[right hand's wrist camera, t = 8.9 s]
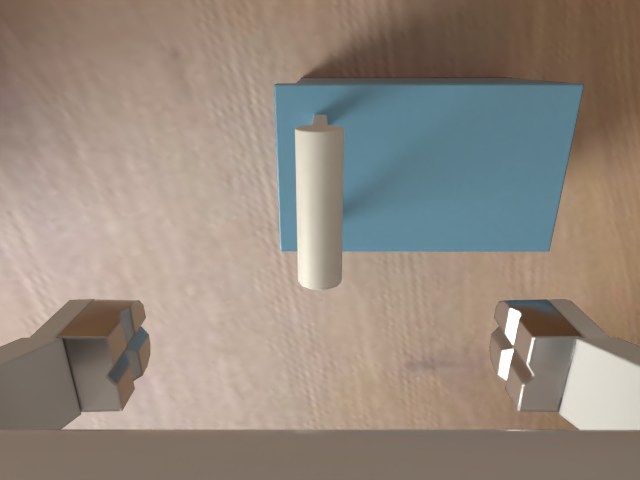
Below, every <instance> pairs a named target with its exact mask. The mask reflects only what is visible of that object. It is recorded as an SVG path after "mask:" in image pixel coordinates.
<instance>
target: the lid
mask: <svg viewBox="0 0 640 480" xmlns="http://www.w3.org/2000/svg"><path fill="white" fill-rule="evenodd" d="M583 87H584V85H583V84H574V83H298V84H275V85H274V92H275V119H276V147H277V174H278V201H279V229H280V250H281V251H298V281H299V283H300V284H301V285H302V286H304V287H306V288H309V289H314V290H326V289H331V288H334V287H336V286H338V285H339V284H340V282H341V279H342V251H378V252H548V251H549V250H550V245H551V241H552V236H553V231H554V226H555V221H556V217H557V212H558V207H559V202H560V197H561V193H562V188H563V183H564V178H565V174H566V169H567V164H568V159H569V154H570V150H571V145H572V140H573V135H574V130H575V126H576V121H577V116H578V111H579V106H580V102H581V97H582V92H583Z"/></svg>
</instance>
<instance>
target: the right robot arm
mask: <svg viewBox="0 0 640 480" xmlns="http://www.w3.org/2000/svg"><path fill="white" fill-rule="evenodd" d="M145 318H146V316H145V311H144V306H143V304H142V303H141V302H140V301H139V300H95V299H81V300H69V301H68V302H67V303H66V304H65V305H64V306H63V307H62V308H61V309H60V310H59V311H58V312H57V313H55V314H54V315H53V316H52V317H51V318H50V319H49V320H48V321H47V322H46V323H45V324H44V325H43V326H42V327H40V328H39V329H38V330H37V331H36V332H35V333H34V334H33V335H32V336H31V337H30V338H21V339H18V340H16V341H13V342H11V343H8V344H6V345H4V346H1V347H0V480H640V347H639V346H636V345H634V344H632V343H629V342H627V341H624V340H622V339H619V338H610V337H609V336H608V335H607V334H606V333H605V332H604V331H603V330H602V329H601V328H600V327H599V326H597V325H596V324H595V323H594V322H593V321H592V320H591V319H590V318H589V317H588V316H587V315H586V314H585V313H584V312H583V311H581V310H580V309H579V308H578V307H577V306H576V305H575V304H574V303H573V302H572V301H570V300H567V299H555V300H509V301H499V302H498V304H497V307H496V310H495V315H494V318H495V320H496V321H497V323H498V325H499V327H498V328H497V329H496V330H495V331H494V332H493V333H492V334H491V340H490V358H491V362H492V365H493V368H494V370H495V372H496V374H497V375H498V376H499V377H501V378H503V379H504V380H506V381H507V382H506V388H505V389H506V391H507V393H508V395H509V396H510V398H511V400H512V402H513V403H514V405H515V407H516V408H517V410H518V411H538V412H559V414H560V415H561V416H562V417H564V418H565V419H566V420H568V421H569V422H570V423H572V424H573V425H574V426H576V427H577V428H578V429H579V430H61V429H62V428H63V427H65V426H66V425H67V424H69V423H70V422H71V421H73V420H74V419H75V418H77V417H78V416H79V415H81V412H101V411H122V410H123V409H124V407H125V405H126V403H127V402H128V400H129V398H130V396H131V395H132V393H133V391H134V389H135V388H134V382H133V381H134V380H136V379H137V378H139V377H141V376H142V375H143V374H144V372H145V370H146V368H147V365H148V361H149V357H150V339H149V334H148V333H147V332H146V331H145V330H144V329H143V328H142V327H141V325H142V323H143V321H144V320H145Z"/></svg>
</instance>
